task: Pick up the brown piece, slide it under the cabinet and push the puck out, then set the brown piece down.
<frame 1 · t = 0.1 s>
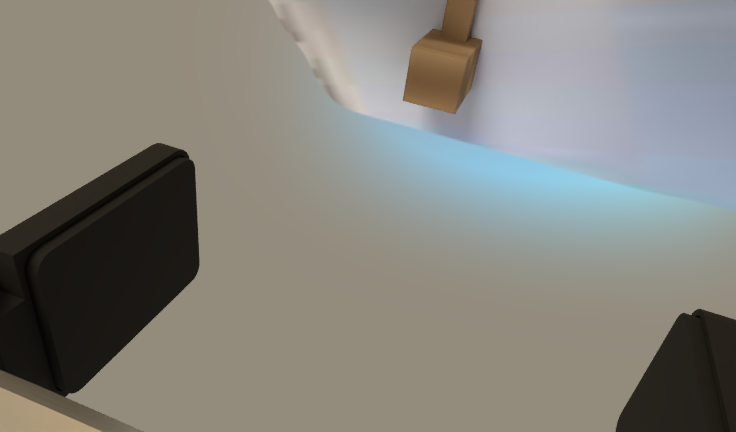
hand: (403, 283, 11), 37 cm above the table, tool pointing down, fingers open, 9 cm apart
brown piece: (452, 59, 45), on the table
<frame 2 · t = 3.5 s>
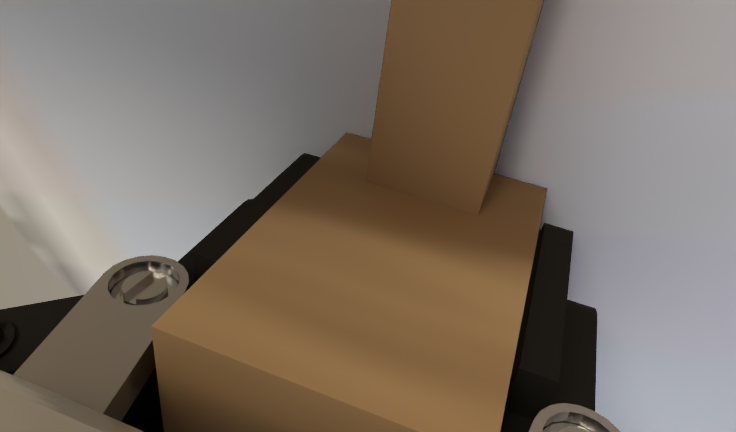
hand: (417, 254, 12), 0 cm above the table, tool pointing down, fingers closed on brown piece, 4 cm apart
brown piece: (423, 242, 12), on the table, touching gripper
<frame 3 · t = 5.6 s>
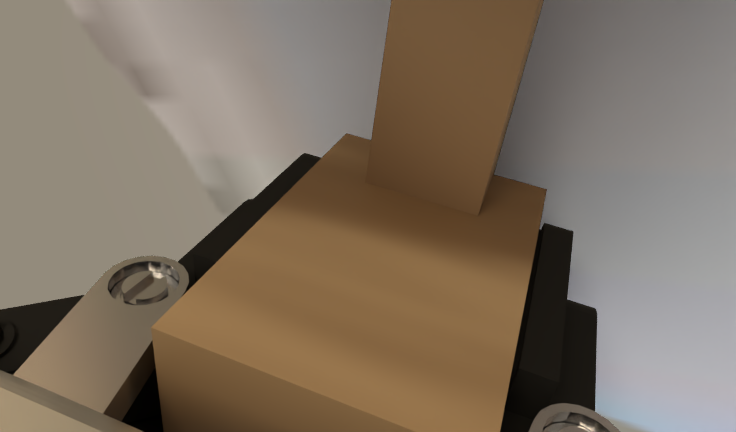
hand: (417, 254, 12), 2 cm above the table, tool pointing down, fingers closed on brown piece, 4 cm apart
brown piece: (423, 243, 12), point 1 cm above the table, touching gripper
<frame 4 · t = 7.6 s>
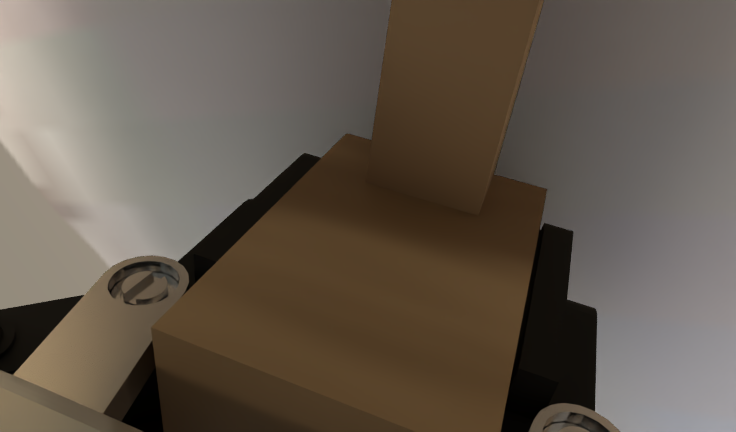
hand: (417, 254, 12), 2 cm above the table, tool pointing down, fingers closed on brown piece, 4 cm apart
brown piece: (423, 243, 12), point 1 cm above the table, touching gripper
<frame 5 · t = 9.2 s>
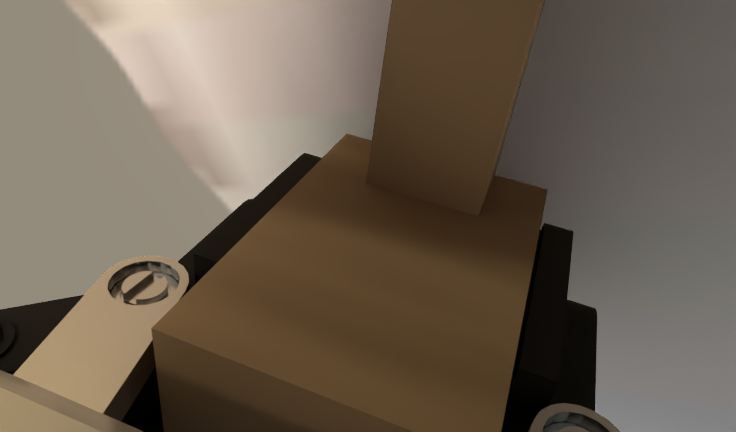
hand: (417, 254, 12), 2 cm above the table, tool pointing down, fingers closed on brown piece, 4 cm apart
brown piece: (424, 243, 12), point 1 cm above the table, touching gripper
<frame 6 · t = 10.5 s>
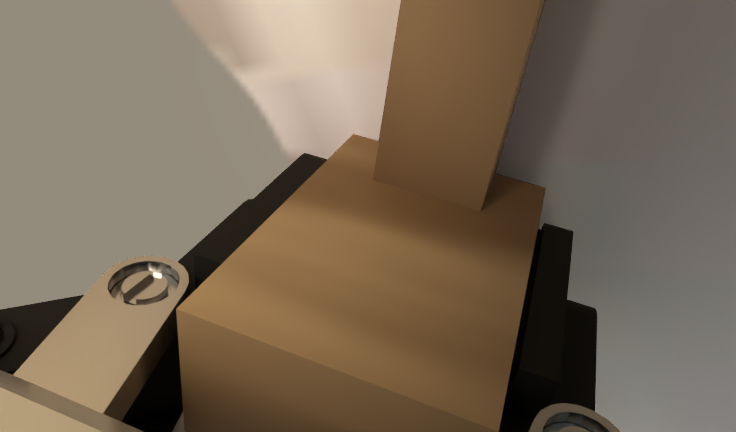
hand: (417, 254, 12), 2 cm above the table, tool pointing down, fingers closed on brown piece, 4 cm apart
brown piece: (427, 240, 12), point 1 cm above the table, touching gripper
when the fingers open (1 cm above the table, at t = 12.0 s): brown piece stays where it is, on the table.
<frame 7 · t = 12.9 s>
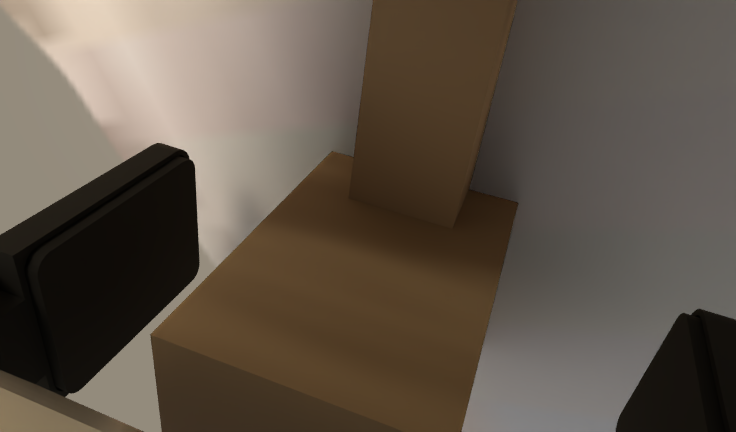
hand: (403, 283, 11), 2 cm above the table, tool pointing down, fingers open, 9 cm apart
brown piece: (406, 253, 13), on the table
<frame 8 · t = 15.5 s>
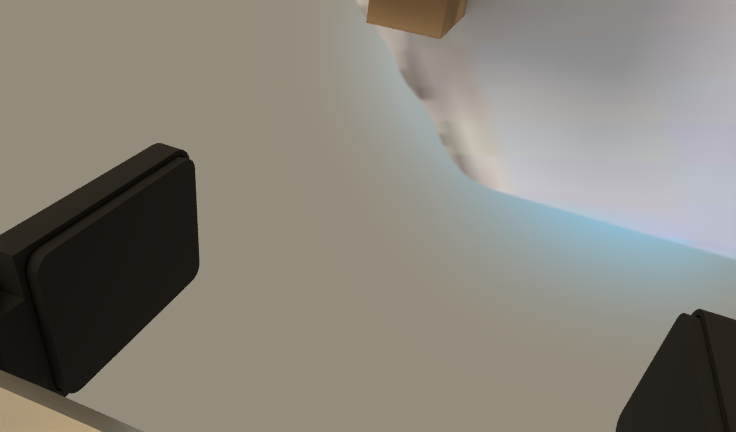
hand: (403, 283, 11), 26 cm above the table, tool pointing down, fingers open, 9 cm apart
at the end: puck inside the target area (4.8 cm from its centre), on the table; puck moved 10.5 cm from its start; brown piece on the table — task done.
